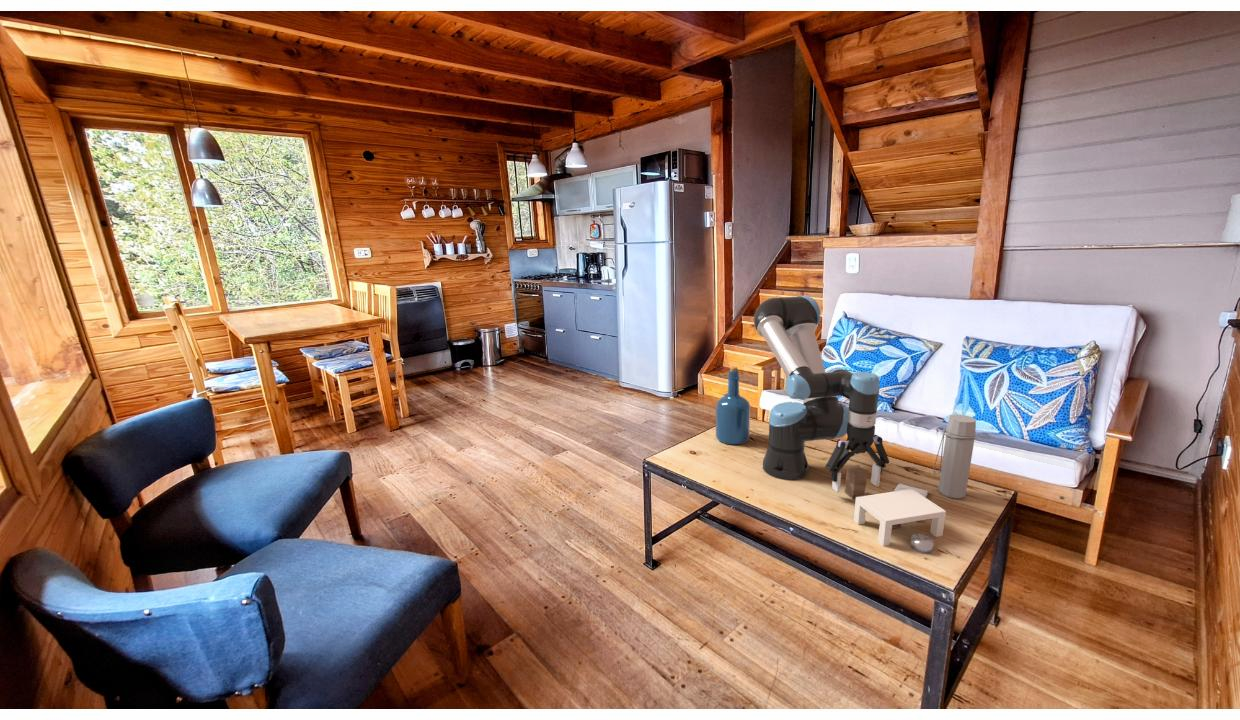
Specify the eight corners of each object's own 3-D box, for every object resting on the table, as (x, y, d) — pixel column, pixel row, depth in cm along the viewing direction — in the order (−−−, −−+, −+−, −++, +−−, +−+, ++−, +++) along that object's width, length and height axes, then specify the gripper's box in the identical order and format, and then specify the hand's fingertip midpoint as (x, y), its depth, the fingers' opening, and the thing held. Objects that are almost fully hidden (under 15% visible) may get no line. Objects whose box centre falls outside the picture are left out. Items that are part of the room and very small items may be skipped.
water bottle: (968, 493, 151) (981, 417, 144) (962, 503, 145) (974, 425, 139) (934, 483, 157) (945, 410, 151) (927, 492, 152) (937, 417, 146)
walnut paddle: (844, 492, 154) (846, 466, 152) (856, 490, 155) (858, 465, 152) (890, 528, 135) (893, 500, 133) (902, 526, 136) (906, 498, 133)
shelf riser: (853, 520, 139) (855, 497, 137) (908, 511, 142) (911, 488, 140) (883, 546, 128) (885, 521, 126) (942, 535, 131) (946, 511, 129)
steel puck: (905, 543, 129) (906, 535, 128) (922, 541, 129) (923, 532, 129) (919, 555, 124) (921, 547, 123) (937, 552, 125) (938, 544, 124)
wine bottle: (751, 445, 189) (754, 372, 182) (717, 445, 191) (718, 372, 183) (746, 431, 202) (748, 362, 195) (714, 431, 204) (714, 362, 196)
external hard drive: (887, 503, 148) (898, 487, 157) (918, 513, 142) (927, 495, 151) (887, 499, 147) (898, 482, 156) (918, 508, 142) (928, 490, 151)
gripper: (831, 433, 140) (826, 498, 146) (907, 423, 145) (899, 487, 150) (816, 423, 147) (812, 486, 153) (889, 414, 152) (882, 476, 157)
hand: (855, 487), depth 152 cm, fingers open, 13 cm apart
